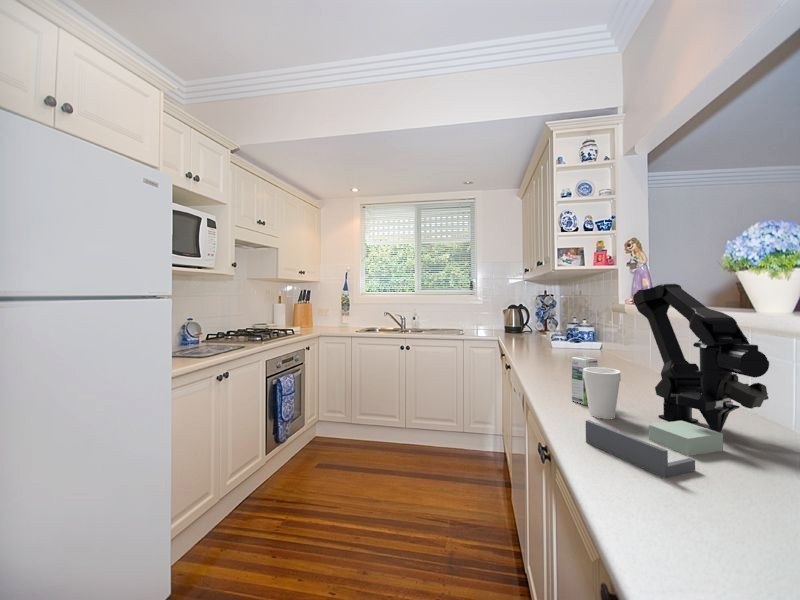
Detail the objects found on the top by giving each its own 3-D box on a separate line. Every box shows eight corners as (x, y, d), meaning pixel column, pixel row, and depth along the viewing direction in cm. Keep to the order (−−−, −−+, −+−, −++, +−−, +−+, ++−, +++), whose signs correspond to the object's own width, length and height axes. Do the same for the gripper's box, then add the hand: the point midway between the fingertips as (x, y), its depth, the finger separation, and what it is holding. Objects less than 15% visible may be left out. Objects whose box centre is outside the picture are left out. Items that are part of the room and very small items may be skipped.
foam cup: (621, 423, 95) (620, 375, 95) (582, 417, 100) (581, 371, 100) (621, 413, 103) (620, 369, 103) (585, 408, 108) (584, 366, 108)
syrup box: (570, 401, 116) (570, 357, 116) (583, 398, 119) (582, 355, 119) (586, 405, 111) (585, 359, 111) (598, 403, 114) (598, 358, 114)
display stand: (613, 437, 86) (612, 416, 86) (695, 470, 69) (694, 444, 69) (585, 441, 83) (585, 420, 83) (664, 477, 66) (663, 451, 66)
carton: (681, 436, 86) (681, 420, 86) (723, 451, 78) (722, 433, 78) (649, 441, 84) (648, 424, 84) (688, 457, 75) (687, 438, 75)
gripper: (730, 378, 74) (731, 453, 74) (784, 371, 80) (785, 441, 80) (674, 368, 84) (675, 434, 84) (725, 363, 90) (726, 424, 90)
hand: (716, 433), depth 84 cm, fingers closed
